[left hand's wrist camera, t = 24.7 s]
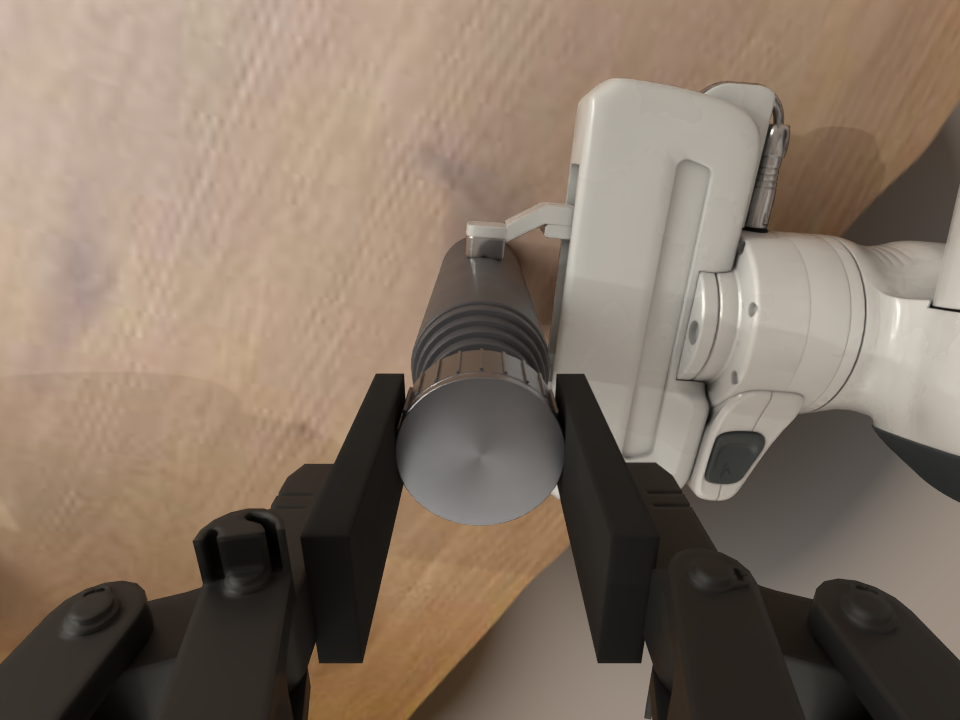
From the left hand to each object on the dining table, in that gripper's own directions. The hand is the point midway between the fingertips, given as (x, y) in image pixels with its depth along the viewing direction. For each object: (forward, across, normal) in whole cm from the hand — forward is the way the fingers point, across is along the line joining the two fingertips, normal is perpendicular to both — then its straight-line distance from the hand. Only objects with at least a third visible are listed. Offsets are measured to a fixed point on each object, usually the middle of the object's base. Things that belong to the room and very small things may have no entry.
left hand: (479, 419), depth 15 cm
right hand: (+12, -1, 0) cm, 12 cm away
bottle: (+18, 0, 0) cm, 18 cm away
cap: (-2, 0, 0) cm, 2 cm away
